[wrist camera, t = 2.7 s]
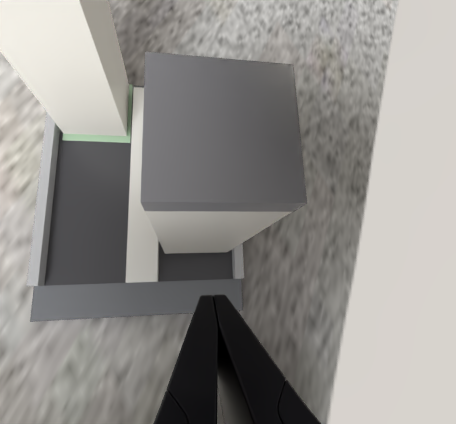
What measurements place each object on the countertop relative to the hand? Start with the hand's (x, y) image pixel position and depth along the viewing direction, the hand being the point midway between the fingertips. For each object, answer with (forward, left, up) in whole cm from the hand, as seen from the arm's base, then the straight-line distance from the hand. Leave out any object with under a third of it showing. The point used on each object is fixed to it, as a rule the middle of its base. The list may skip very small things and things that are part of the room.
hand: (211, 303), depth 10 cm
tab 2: (+4, 0, -7) cm, 8 cm away
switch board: (+6, +3, -8) cm, 10 cm away
